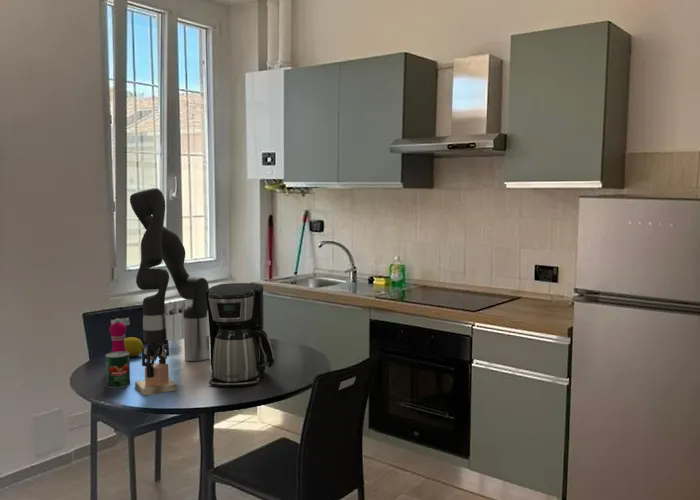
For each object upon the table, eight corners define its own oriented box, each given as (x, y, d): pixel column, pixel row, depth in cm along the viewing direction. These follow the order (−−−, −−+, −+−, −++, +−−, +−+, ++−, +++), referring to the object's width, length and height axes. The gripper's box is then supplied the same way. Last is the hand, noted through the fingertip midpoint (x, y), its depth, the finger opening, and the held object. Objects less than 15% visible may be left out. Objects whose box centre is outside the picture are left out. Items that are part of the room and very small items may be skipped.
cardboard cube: (168, 381, 217) (168, 364, 216) (160, 385, 211) (159, 368, 211) (154, 380, 218) (153, 363, 217) (145, 384, 212) (144, 367, 212)
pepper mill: (122, 373, 233) (120, 320, 231) (105, 372, 234) (103, 320, 232) (133, 368, 240) (131, 316, 238) (116, 367, 241) (114, 316, 240)
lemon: (147, 354, 261) (147, 335, 260) (139, 359, 253) (138, 339, 253) (123, 353, 262) (122, 334, 262) (113, 358, 255) (113, 339, 254)
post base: (167, 381, 222) (166, 362, 222) (177, 389, 213) (176, 369, 213) (135, 387, 216) (134, 367, 216) (144, 395, 207) (143, 375, 207)
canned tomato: (116, 389, 214) (115, 358, 213) (101, 386, 218) (100, 355, 217) (135, 383, 221) (134, 353, 220) (120, 380, 225) (119, 350, 224)
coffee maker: (212, 392, 211) (210, 292, 208) (196, 367, 240) (193, 280, 237) (277, 383, 220) (276, 288, 217) (254, 361, 249) (252, 277, 246)
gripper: (154, 332, 205) (156, 380, 207) (174, 323, 219) (176, 368, 221) (133, 331, 207) (135, 379, 208) (155, 322, 221) (156, 367, 222)
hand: (156, 373), depth 214 cm, fingers open, 8 cm apart
